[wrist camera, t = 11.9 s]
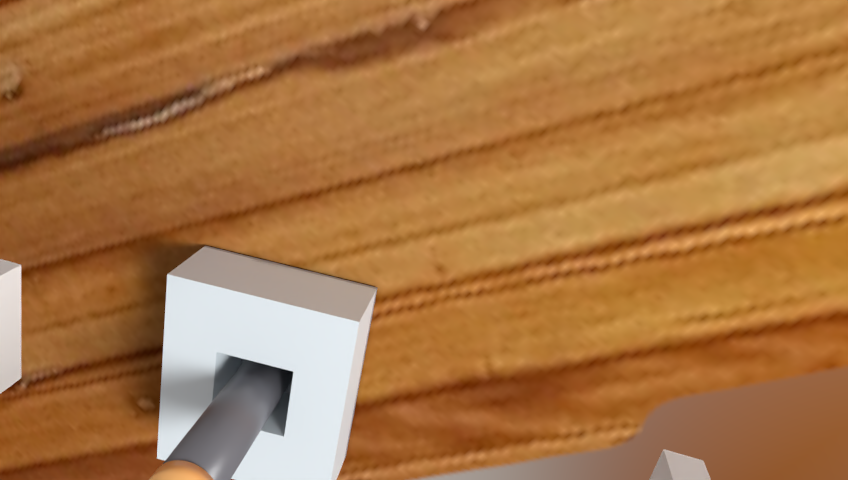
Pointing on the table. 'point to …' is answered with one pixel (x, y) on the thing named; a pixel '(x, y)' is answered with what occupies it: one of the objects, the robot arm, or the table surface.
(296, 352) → the socket block
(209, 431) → the marker
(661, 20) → the table surface
